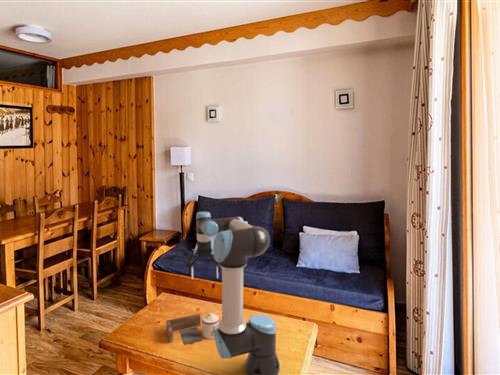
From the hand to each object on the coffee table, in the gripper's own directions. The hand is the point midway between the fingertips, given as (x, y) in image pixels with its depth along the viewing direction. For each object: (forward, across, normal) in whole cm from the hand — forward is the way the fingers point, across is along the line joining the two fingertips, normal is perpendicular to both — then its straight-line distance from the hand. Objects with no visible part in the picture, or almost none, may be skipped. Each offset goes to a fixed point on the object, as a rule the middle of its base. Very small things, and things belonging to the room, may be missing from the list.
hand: (205, 278), depth 178 cm
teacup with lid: (+26, -4, +11) cm, 28 cm away
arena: (+26, +10, +12) cm, 30 cm away
